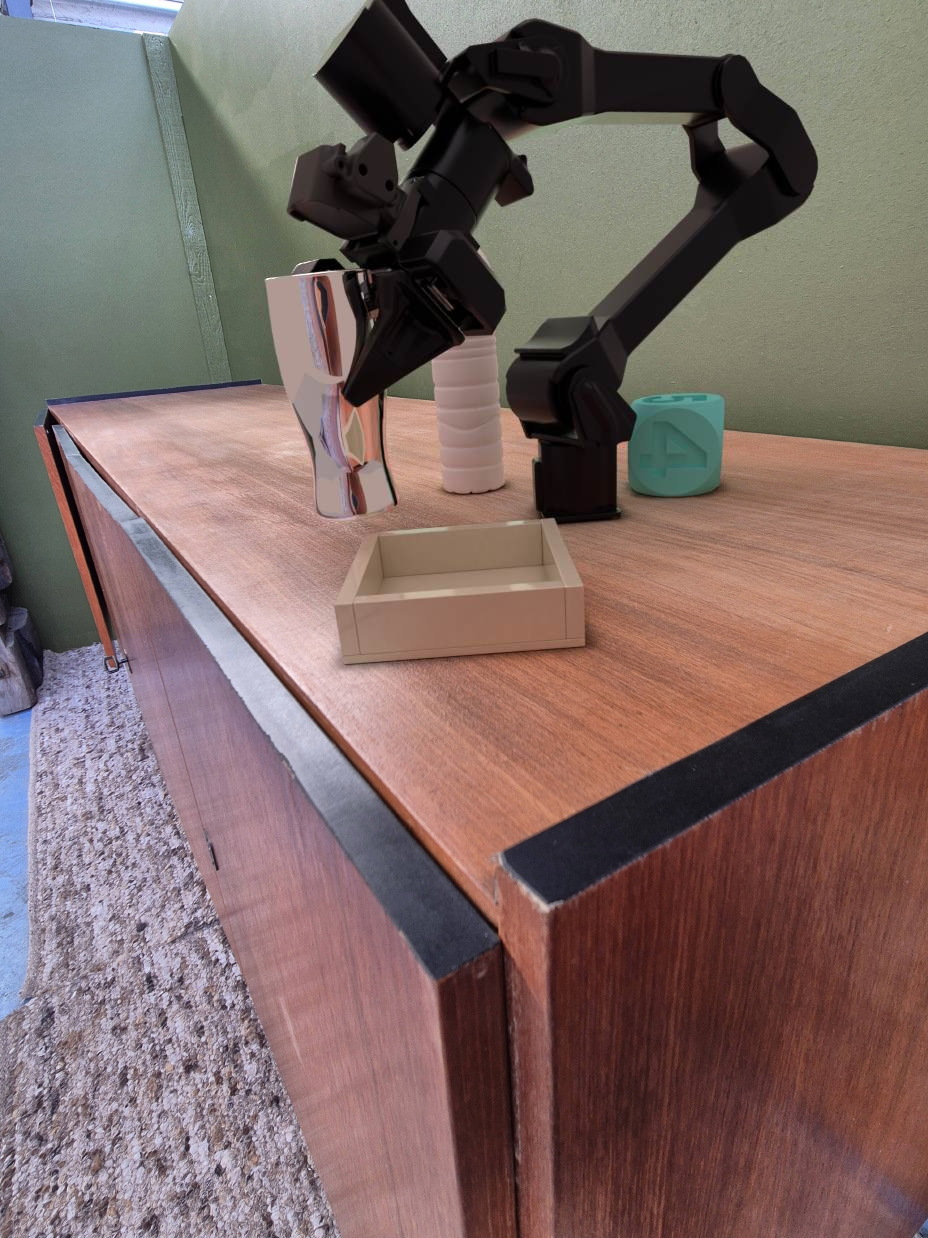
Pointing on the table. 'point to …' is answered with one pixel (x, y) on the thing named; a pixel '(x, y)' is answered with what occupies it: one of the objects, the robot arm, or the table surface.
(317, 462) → the silver metal tumbler
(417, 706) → the table surface
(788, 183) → the robot arm
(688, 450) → the decorative dice
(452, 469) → the water bottle
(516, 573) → the tray
